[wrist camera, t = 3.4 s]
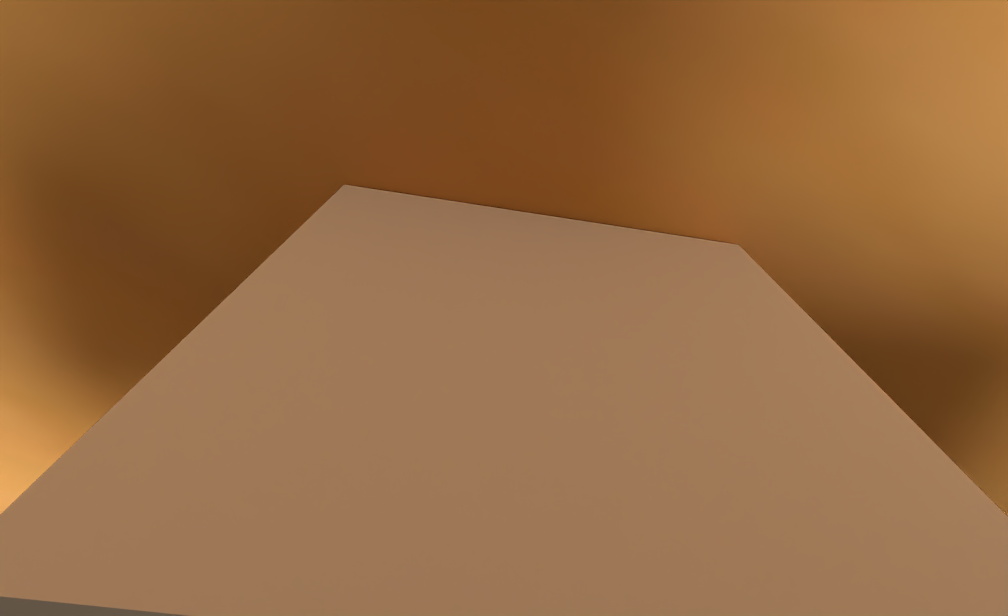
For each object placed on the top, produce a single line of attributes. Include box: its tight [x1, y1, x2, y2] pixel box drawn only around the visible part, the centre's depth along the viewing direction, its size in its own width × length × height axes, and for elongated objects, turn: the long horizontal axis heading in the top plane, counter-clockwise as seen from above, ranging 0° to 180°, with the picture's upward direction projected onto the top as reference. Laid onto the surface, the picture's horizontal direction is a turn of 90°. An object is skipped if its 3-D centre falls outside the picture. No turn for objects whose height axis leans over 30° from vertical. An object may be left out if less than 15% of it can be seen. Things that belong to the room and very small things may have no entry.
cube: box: [0, 185, 1008, 616], centre depth 6 cm, size 6×6×6 cm
